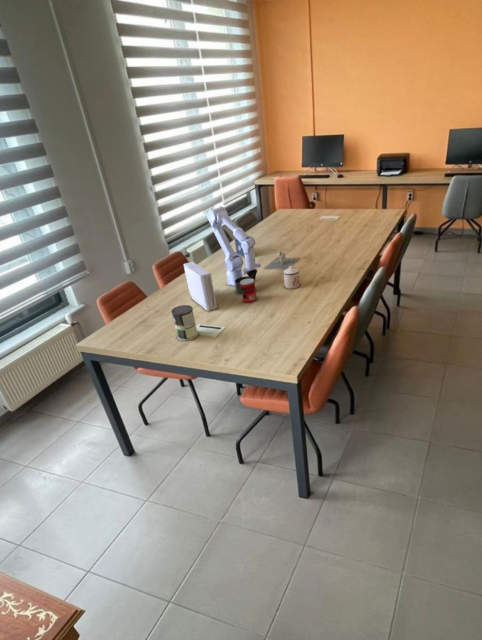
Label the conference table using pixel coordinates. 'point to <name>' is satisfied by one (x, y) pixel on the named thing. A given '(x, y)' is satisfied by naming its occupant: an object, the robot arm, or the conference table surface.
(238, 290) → the pot
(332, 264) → the conference table surface
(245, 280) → the canned food
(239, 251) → the vhs cassette tape
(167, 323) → the conference table surface
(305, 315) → the conference table surface
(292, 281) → the teacup with lid
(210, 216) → the robot arm
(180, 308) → the coffee can
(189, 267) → the game console
